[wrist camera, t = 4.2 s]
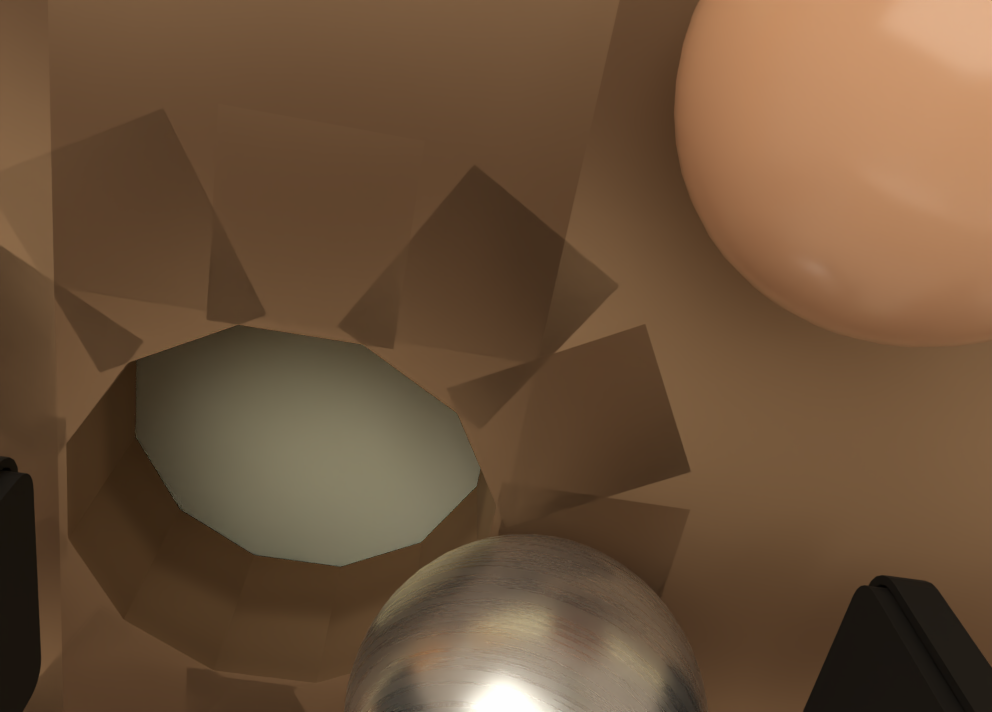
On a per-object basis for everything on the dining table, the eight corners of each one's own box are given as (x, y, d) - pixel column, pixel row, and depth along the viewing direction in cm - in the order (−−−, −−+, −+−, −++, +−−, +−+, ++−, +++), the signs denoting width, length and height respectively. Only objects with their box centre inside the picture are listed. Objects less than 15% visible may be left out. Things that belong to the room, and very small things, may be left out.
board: (-78, -286, 10) (-246, -350, 8) (1478, 48, 12) (1719, 78, 9) (-8, 761, 17) (-84, 893, 14) (973, 869, 18) (1043, 1002, 16)
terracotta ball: (702, -210, 8) (881, -314, 5) (1113, -116, 9) (1586, -144, 5) (598, 219, 10) (668, 394, 6) (946, 280, 10) (1205, 478, 7)
